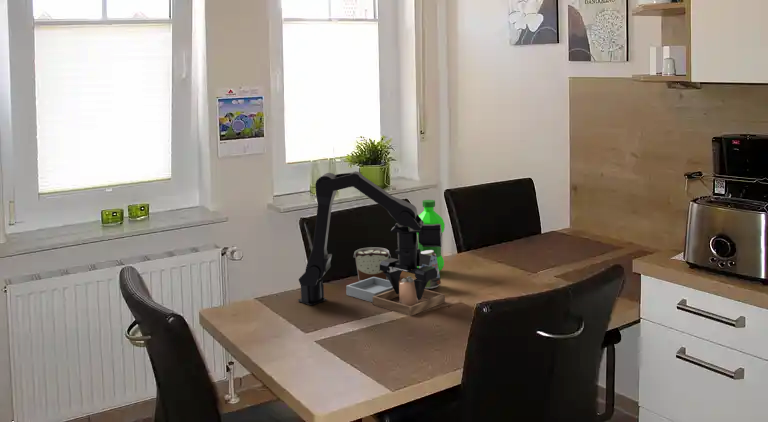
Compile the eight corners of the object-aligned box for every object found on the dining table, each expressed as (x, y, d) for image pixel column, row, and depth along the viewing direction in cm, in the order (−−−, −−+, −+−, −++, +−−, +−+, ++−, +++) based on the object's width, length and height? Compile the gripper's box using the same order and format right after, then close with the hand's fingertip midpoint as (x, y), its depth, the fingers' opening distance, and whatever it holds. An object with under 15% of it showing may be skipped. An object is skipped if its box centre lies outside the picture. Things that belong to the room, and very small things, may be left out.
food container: (392, 275, 269) (392, 246, 267) (391, 281, 263) (390, 251, 261) (356, 275, 271) (355, 246, 269) (354, 280, 265) (353, 251, 263)
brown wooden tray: (410, 315, 230) (410, 307, 229) (372, 304, 240) (372, 296, 240) (444, 302, 241) (444, 294, 240) (406, 292, 251) (406, 284, 251)
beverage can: (439, 290, 252) (439, 253, 249) (416, 289, 253) (415, 253, 251) (442, 284, 258) (441, 248, 255) (419, 283, 259) (418, 248, 257)
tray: (374, 302, 242) (374, 293, 241) (346, 294, 250) (346, 285, 250) (402, 292, 251) (402, 283, 250) (374, 285, 259) (373, 276, 258)
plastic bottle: (428, 279, 264) (427, 205, 259) (408, 272, 272) (407, 200, 267) (451, 273, 270) (450, 201, 264) (431, 267, 278) (429, 196, 273)
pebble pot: (409, 307, 237) (408, 281, 235) (395, 303, 241) (394, 277, 239) (421, 303, 241) (421, 276, 239) (408, 299, 245) (407, 273, 243)
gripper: (449, 245, 236) (449, 296, 240) (402, 236, 249) (403, 284, 252) (424, 253, 228) (425, 305, 232) (377, 243, 241) (379, 293, 244)
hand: (408, 296), depth 240 cm, fingers open, 8 cm apart
